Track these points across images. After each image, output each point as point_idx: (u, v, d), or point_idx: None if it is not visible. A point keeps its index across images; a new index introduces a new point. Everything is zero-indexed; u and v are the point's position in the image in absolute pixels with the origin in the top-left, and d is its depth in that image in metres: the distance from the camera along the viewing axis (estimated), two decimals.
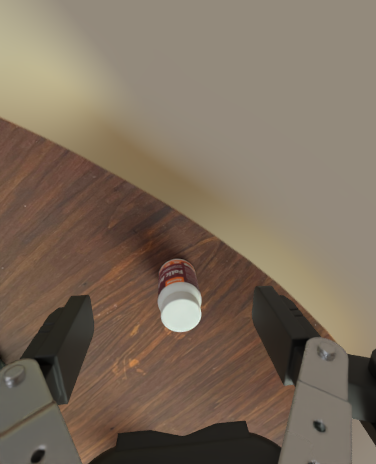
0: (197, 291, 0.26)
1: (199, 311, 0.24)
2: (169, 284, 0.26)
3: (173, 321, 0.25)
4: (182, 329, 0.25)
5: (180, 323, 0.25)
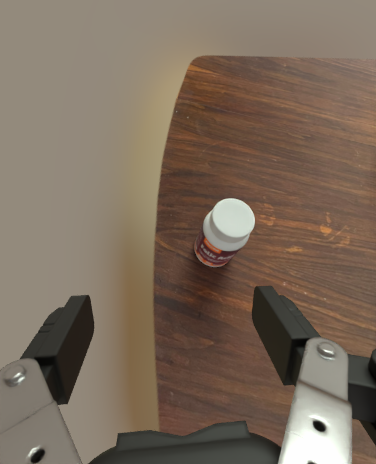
0: (205, 219, 0.24)
1: (217, 204, 0.23)
2: (217, 248, 0.24)
3: (244, 220, 0.22)
4: (246, 207, 0.23)
5: (241, 213, 0.23)
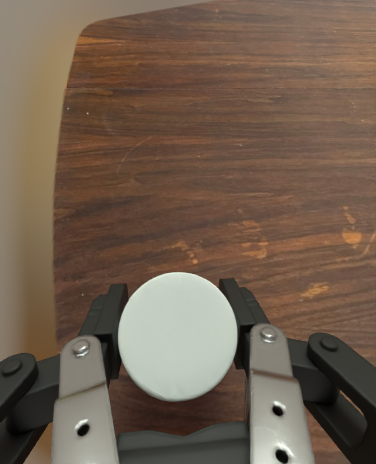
0: None
1: (129, 306, 0.08)
2: (164, 400, 0.09)
3: (207, 330, 0.08)
4: (205, 288, 0.09)
5: (197, 309, 0.09)
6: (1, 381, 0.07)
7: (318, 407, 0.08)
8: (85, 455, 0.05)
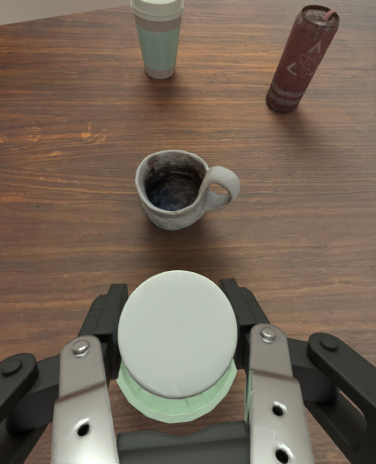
0: None
1: (129, 303, 0.08)
2: (165, 398, 0.09)
3: (207, 328, 0.08)
4: (204, 286, 0.09)
5: (196, 307, 0.09)
6: (2, 381, 0.07)
7: (318, 407, 0.08)
8: (85, 455, 0.05)
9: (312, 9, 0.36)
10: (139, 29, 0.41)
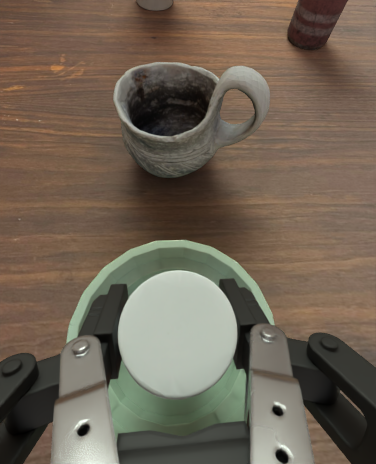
0: None
1: (129, 303, 0.08)
2: (164, 398, 0.09)
3: (207, 328, 0.08)
4: (204, 286, 0.09)
5: (196, 307, 0.09)
6: (2, 381, 0.07)
7: (318, 407, 0.08)
8: (85, 455, 0.05)
9: None
10: None
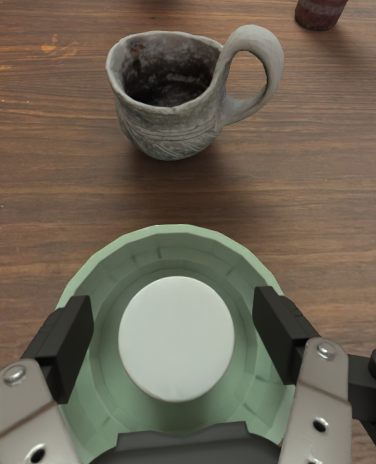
0: None
1: (129, 309, 0.09)
2: None
3: (205, 333, 0.08)
4: (203, 292, 0.09)
5: (195, 313, 0.09)
6: None
7: (375, 426, 0.08)
8: None
9: None
10: None
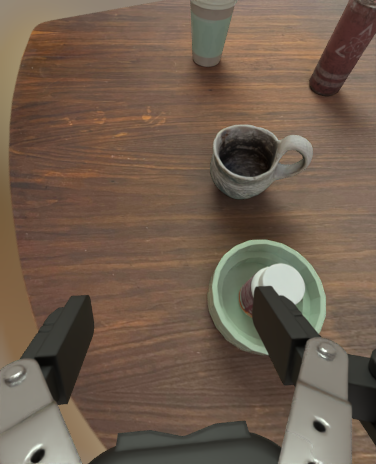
0: (252, 287, 0.25)
1: (265, 275, 0.23)
2: None
3: (294, 283, 0.23)
4: (290, 269, 0.24)
5: (289, 276, 0.23)
6: None
7: (375, 426, 0.08)
8: None
9: None
10: (195, 18, 0.44)
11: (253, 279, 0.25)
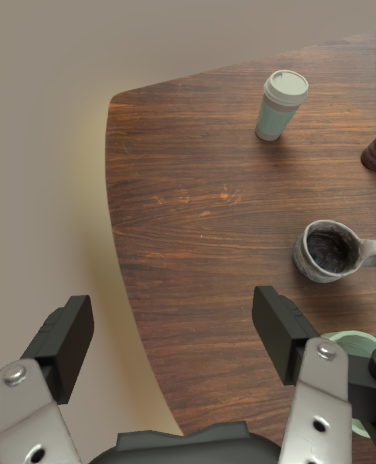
0: None
1: None
2: None
3: None
4: None
5: None
6: None
7: (375, 426, 0.08)
8: None
9: None
10: (268, 108, 0.50)
11: None
